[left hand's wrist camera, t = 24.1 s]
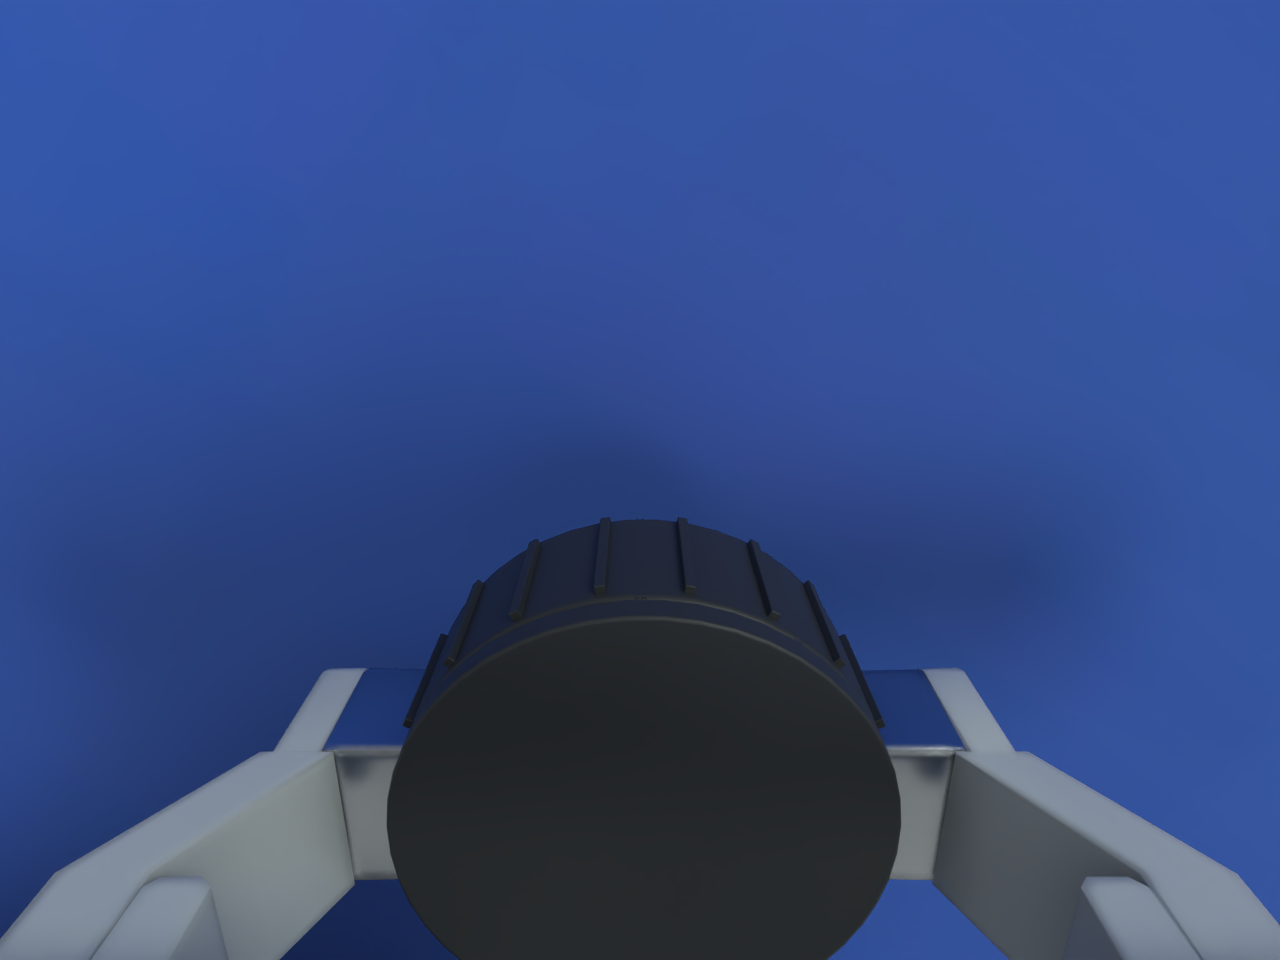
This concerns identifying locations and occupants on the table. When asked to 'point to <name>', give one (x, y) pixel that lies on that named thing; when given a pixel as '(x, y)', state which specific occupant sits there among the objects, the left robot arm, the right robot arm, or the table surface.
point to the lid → (643, 760)
